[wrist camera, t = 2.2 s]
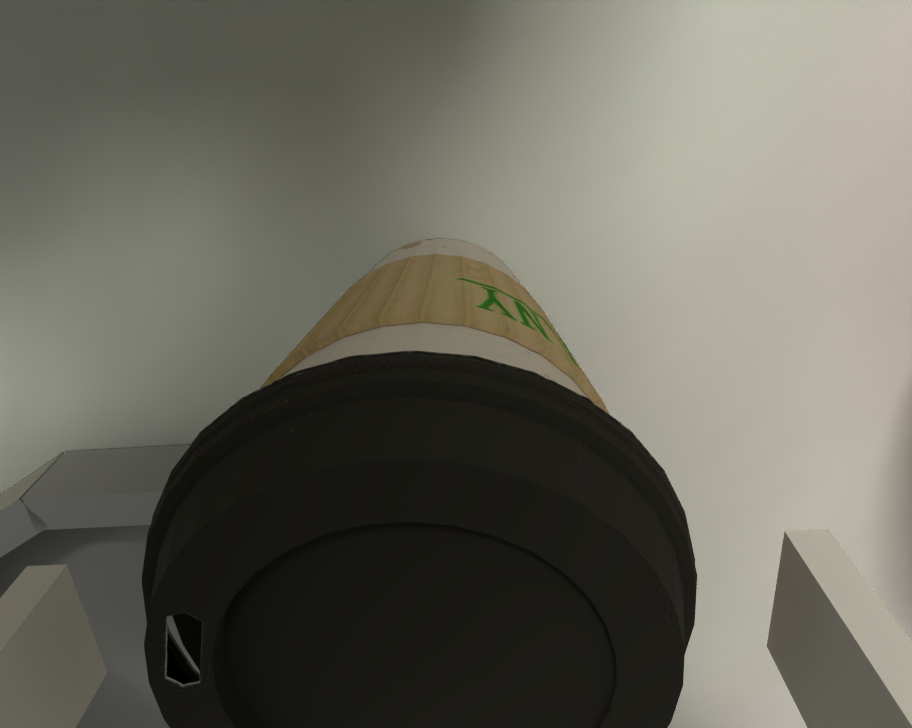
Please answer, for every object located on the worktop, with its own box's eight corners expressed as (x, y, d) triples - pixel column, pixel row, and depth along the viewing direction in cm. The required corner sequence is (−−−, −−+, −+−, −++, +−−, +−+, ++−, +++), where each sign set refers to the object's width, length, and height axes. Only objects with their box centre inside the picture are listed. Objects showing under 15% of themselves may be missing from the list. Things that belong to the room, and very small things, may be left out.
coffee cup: (544, 463, 27) (624, 898, 14) (288, 420, 26) (104, 833, 13) (617, 214, 23) (838, 480, 9) (316, 155, 22) (87, 351, 9)
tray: (-133, 461, 27) (-199, 509, 25) (416, 432, 27) (410, 478, 24) (42, 809, 36) (9, 872, 34) (454, 795, 36) (453, 858, 33)
